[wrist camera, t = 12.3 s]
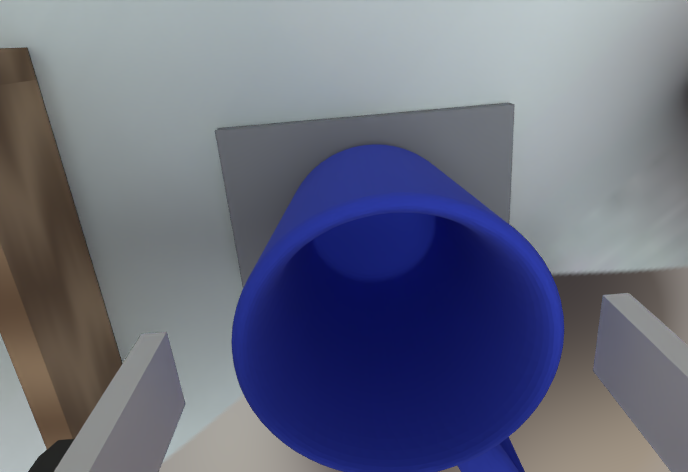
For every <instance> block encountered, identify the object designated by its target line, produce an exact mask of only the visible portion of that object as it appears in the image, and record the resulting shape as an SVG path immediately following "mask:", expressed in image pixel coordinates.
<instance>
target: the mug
mask: <svg viewBox="0 0 688 472" xmlns="http://www.w3.org/2000/svg"><path fill="white" fill-rule="evenodd" d="M563 340H564V316H563V311H562V305H561V300H560V296H559V293H558V289H557V286H556V284H555V282H554V279H553V277H552V275H551V272H550V271H549V269H548V267H547V266H546V264H545V262H544V261H543V259H542V258H541V256H540V255H539V254H538V252H537V251H536V250H535V248H534V247H533V246H532V245H531V244H530V243H529V242H528V241H527V240H526V239H525V238H524V237H523V236H522V235H521V234H520V233H519V232H518V231H517V230H516V229H515V228H513V227H512V226H511V225H509V224H508V223H507V222H506V221H504V220H503V219H502V218H500V217H499V216H498V215H497V214H495V213H494V212H493V211H492V210H490V209H489V208H488V207H486V206H485V205H484V204H483V203H481V202H480V201H479V200H477V199H476V198H475V197H474V196H472V195H471V194H470V193H469V192H467V191H466V190H465V189H463V188H462V187H461V186H460V185H458V184H457V183H456V182H455V181H453V180H452V179H451V178H449V177H448V176H447V175H446V174H444V173H443V172H442V171H440V170H439V169H438V168H437V167H435V166H434V165H433V164H431V163H430V162H429V161H427V160H426V159H424V158H423V157H421V156H419V155H417V154H415V153H413V152H411V151H408V150H406V149H403V148H399V147H395V146H389V145H380V144H372V145H362V146H357V147H352V148H349V149H346V150H343V151H341V152H339V153H336V154H334V155H332V156H331V157H329V158H327V159H326V160H324V161H323V162H321V163H320V164H319V165H318V166H317V167H315V168H314V169H313V170H312V171H311V172H310V173H309V174H308V175H307V177H306V178H305V179H304V181H303V182H302V183H301V185H300V186H299V188H298V190H297V191H296V193H295V195H294V196H293V198H292V200H291V202H290V204H289V206H288V207H287V209H286V211H285V213H284V215H283V216H282V218H281V220H280V222H279V224H278V225H277V227H276V229H275V231H274V233H273V234H272V236H271V238H270V240H269V242H268V243H267V245H266V247H265V249H264V251H263V253H262V254H261V256H260V258H259V260H258V262H257V263H256V265H255V267H254V269H253V271H252V272H251V274H250V276H249V278H248V280H247V282H246V284H245V286H244V288H243V290H242V293H241V295H240V298H239V301H238V304H237V307H236V311H235V316H234V321H233V327H232V354H233V362H234V367H235V371H236V375H237V379H238V381H239V384H240V387H241V389H242V392H243V394H244V396H245V398H246V400H247V402H248V403H249V405H250V407H251V408H252V410H253V411H254V413H255V414H256V415H257V417H258V418H259V419H260V421H261V422H262V423H263V424H264V425H265V426H266V427H267V428H268V429H269V430H270V431H271V432H272V433H273V434H274V435H275V436H276V437H277V438H278V439H280V440H281V441H282V442H283V443H285V444H286V445H287V446H288V447H290V448H291V449H293V450H294V451H296V452H298V453H299V454H301V455H303V456H305V457H307V458H308V459H310V460H313V461H315V462H317V463H319V464H322V465H324V466H327V467H330V468H333V469H336V470H339V471H343V472H438V471H441V470H445V469H447V468H451V467H454V466H458V467H459V469H460V471H461V472H525V471H524V469H523V467H522V465H521V463H520V460H519V458H518V456H517V454H516V452H515V450H514V448H513V445H512V443H511V441H510V439H509V436H510V435H511V434H512V433H513V432H515V431H516V430H517V429H518V428H519V427H520V426H521V425H522V424H523V423H524V422H525V421H526V420H527V419H528V418H529V417H530V415H531V414H532V413H533V412H534V411H535V409H536V408H537V407H538V405H539V404H540V402H541V401H542V399H543V398H544V396H545V395H546V393H547V391H548V389H549V387H550V385H551V383H552V381H553V379H554V376H555V374H556V371H557V369H558V365H559V362H560V358H561V353H562V348H563Z"/></svg>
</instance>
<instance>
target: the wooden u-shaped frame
mask: <svg viewBox="0 0 688 472" xmlns="http://www.w3.org/2000/svg"><path fill="white" fill-rule="evenodd" d="M0 333H1V336H2V338H3V341H4V343H5V346H6V348H7V351H8V353H9V356H10V358H11V361H12V363H13V366H14V368H15V371H16V373H17V376H18V378H19V381H20V383H21V386H22V388H23V391H24V393H25V396H26V398H27V401H28V403H29V406H30V408H31V411H32V413H33V416H34V418H35V421H36V423H37V426H38V428H39V431H40V433H41V436H42V438H43V441H44V443H45V446H46V448H47V449H48V448H50V447H51V446H52V445H53V444H54V443H55V442H56V441H58V440H65V439H75V438H76V436H77V435H78V433H79V431H80V430H81V428H82V427H83V425H84V423H85V422H86V420H87V419H88V417H89V416H90V414H91V412H92V411H93V409H94V408H95V406H96V405H97V403H98V401H99V400H100V398H101V397H102V395H103V394H104V392H105V390H106V389H107V387H108V386H109V384H110V383H111V381H112V379H113V378H114V376H115V375H116V373H117V372H118V370H119V368H120V367H121V365H122V361H121V358H120V355H119V351H118V348H117V345H116V341H115V338H114V335H113V331H112V328H111V325H110V321H109V318H108V315H107V311H106V308H105V305H104V302H103V298H102V295H101V292H100V288H99V285H98V282H97V278H96V275H95V272H94V268H93V265H92V262H91V258H90V255H89V252H88V248H87V245H86V242H85V238H84V235H83V232H82V229H81V225H80V222H79V219H78V215H77V212H76V209H75V205H74V202H73V199H72V195H71V192H70V189H69V185H68V182H67V179H66V175H65V172H64V169H63V165H62V162H61V159H60V155H59V152H58V149H57V146H56V142H55V139H54V136H53V132H52V129H51V126H50V122H49V119H48V116H47V112H46V109H45V106H44V102H43V99H42V96H41V92H40V89H39V86H38V82H37V79H36V76H35V72H34V69H33V66H32V63H31V59H30V56H29V53H28V49H27V47H26V48H0Z"/></svg>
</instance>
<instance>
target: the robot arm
mask: <svg viewBox="0 0 688 472" xmlns="http://www.w3.org/2000/svg"><path fill="white" fill-rule="evenodd" d="M593 371H594V372H595V374H596V375H597V376H598V378H599V379H600V380H601V382H602V383H603V384H604V386H605V387H606V388H607V389H608V391H609V392H610V393H611V394H612V396H613V397H614V398H615V400H616V401H617V402H618V404H619V405H620V406H621V408H622V409H623V410H624V411H625V413H626V414H627V415H628V417H629V418H630V419H631V420H632V422H633V423H634V424H635V426H636V427H637V428H638V430H639V431H640V432H641V433H642V435H643V436H644V437H645V439H646V440H647V441H648V442H649V444H650V445H651V446H652V448H653V449H654V450H655V452H656V453H657V454H658V455H659V457H660V458H661V459H662V461H663V462H664V463H665V464H666V466H667V467H668V468H669V470H670V471H671V472H688V345H687V344H686V343H685V342H684V341H683V340H682V339H681V338H679V337H678V336H677V335H676V334H675V333H674V332H673V331H671V330H670V329H669V328H668V327H667V326H666V325H664V324H663V323H662V322H661V321H660V320H659V319H658V318H656V317H655V316H654V315H653V314H652V313H651V312H650V311H649V310H648V309H646V308H645V307H644V306H643V305H642V304H641V303H640V302H638V301H637V300H636V299H635V298H634V297H632V295H630V294H629V293H622V294H610V295H603V300H602V306H601V315H600V322H599V330H598V337H597V345H596V353H595V360H594V368H593ZM184 406H185V401H184V397H183V393H182V389H181V385H180V381H179V377H178V373H177V369H176V366H175V362H174V358H173V354H172V350H171V346H170V342H169V338H168V334H167V332H155V333H143V334H141V335H140V337H139V338H138V340H137V342H136V343H135V345H134V346H133V348H132V350H131V351H130V353H129V354H128V356H127V357H126V359H125V361H124V362H123V364H122V365H121V367H120V368H119V370H118V372H117V373H116V375H115V376H114V378H113V379H112V381H111V383H110V384H109V386H108V387H107V389H106V390H105V392H104V394H103V395H102V397H101V398H100V400H99V401H98V403H97V405H96V406H95V408H94V409H93V411H92V412H91V414H90V416H89V417H88V419H87V420H86V422H85V423H84V425H83V427H82V428H81V430H80V431H79V433H78V435H77V436H76V438H75V439H65V440H58V441H56V442H55V443H54V444H53V445H52V446H51V447H50V448H48V449H47V450H46V451H45V452H44V453H43V454H41V455H40V456H39V457H38V458H37V460H36V461H35V463H34V464H33V466H32V467H31V468H30V470H29V471H28V472H159V469H160V467H161V464H162V462H163V459H164V457H165V454H166V452H167V449H168V447H169V444H170V442H171V439H172V437H173V434H174V432H175V429H176V427H177V424H178V421H179V419H180V416H181V414H182V411H183V409H184Z"/></svg>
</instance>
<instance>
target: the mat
mask: <svg viewBox="0 0 688 472" xmlns="http://www.w3.org/2000/svg"><path fill="white" fill-rule="evenodd" d="M513 125H514V104H511V103H502V104H491V105H479V106H468V107H456V108H445V109H434V110H422V111H411V112H399V113H388V114H376V115H365V116H353V117H342V118H330V119H319V120H307V121H296V122H285V123H273V124H262V125H250V126H239V127H227V128H218V129H217V130H215V134H216V140H217V145H218V151H219V157H220V162H221V168H222V173H223V179H224V184H225V190H226V196H227V201H228V207H229V212H230V218H231V223H232V229H233V235H234V240H235V246H236V251H237V257H238V262H239V268H240V274H241V279H242V285H243V288H244V286H245V284H246V282H247V280H248V278H249V276H250V274H251V272H252V271H253V269H254V267H255V265H256V263H257V262H258V260H259V258H260V256H261V254H262V253H263V251H264V249H265V247H266V245H267V243H268V242H269V240H270V238H271V236H272V234H273V233H274V231H275V229H276V227H277V225H278V224H279V222H280V220H281V218H282V216H283V215H284V213H285V211H286V209H287V207H288V206H289V204H290V202H291V200H292V198H293V196H294V195H295V193H296V191H297V190H298V188H299V186H300V185H301V183H302V182H303V181H304V179H305V178H306V177H307V175H308V174H309V173H310V172H311V171H312V170H313V169H314V168H315V167H317V166H318V165H319V164H320V163H321V162H323V161H324V160H326V159H327V158H329V157H331V156H332V155H334V154H336V153H339V152H341V151H343V150H346V149H349V148H352V147H357V146H362V145H372V144H380V145H389V146H395V147H399V148H403V149H406V150H408V151H411V152H413V153H415V154H417V155H419V156H421V157H423V158H424V159H426V160H427V161H429V162H430V163H431V164H433V165H434V166H435V167H437V168H438V169H439V170H440V171H442V172H443V173H444V174H446V175H447V176H448V177H449V178H451V179H452V180H453V181H455V182H456V183H457V184H458V185H460V186H461V187H462V188H463V189H465V190H466V191H467V192H469V193H470V194H471V195H472V196H474V197H475V198H476V199H477V200H479V201H480V202H481V203H483V204H484V205H485V206H486V207H488V208H489V209H490V210H492V211H493V212H494V213H495V214H497V215H498V216H499V217H500V218H502V219H503V220H504V221H506V222H507V223H508V224H509V217H510V194H511V171H512V148H513Z"/></svg>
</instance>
